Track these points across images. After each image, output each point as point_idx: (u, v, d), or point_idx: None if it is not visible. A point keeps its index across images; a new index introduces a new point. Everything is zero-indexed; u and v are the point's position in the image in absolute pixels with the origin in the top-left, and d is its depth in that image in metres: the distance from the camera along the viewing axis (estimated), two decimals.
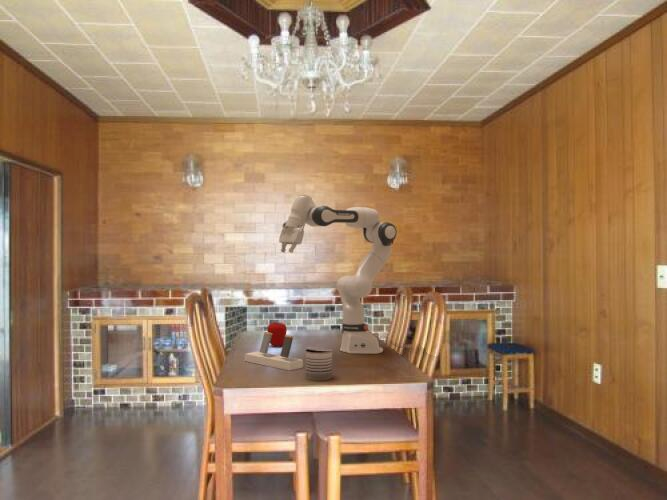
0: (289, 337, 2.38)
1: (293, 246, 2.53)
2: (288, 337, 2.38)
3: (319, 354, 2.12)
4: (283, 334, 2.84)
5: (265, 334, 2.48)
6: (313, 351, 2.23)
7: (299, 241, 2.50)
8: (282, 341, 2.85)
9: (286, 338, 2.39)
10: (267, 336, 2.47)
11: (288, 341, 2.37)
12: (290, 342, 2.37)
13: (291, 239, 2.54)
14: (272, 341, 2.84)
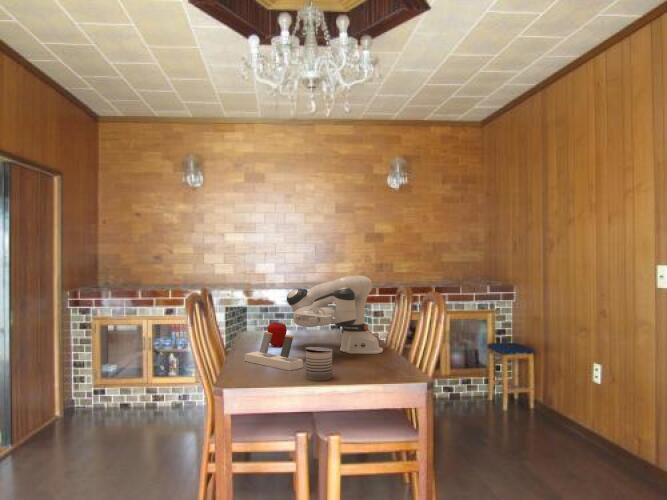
0: (289, 337, 2.38)
1: (315, 319, 2.45)
2: (288, 337, 2.38)
3: (319, 354, 2.12)
4: (283, 334, 2.84)
5: (265, 334, 2.48)
6: (313, 351, 2.23)
7: (326, 321, 2.44)
8: (282, 341, 2.85)
9: (286, 338, 2.39)
10: (267, 336, 2.47)
11: (288, 341, 2.37)
12: (290, 342, 2.37)
13: (318, 315, 2.48)
14: (272, 341, 2.84)
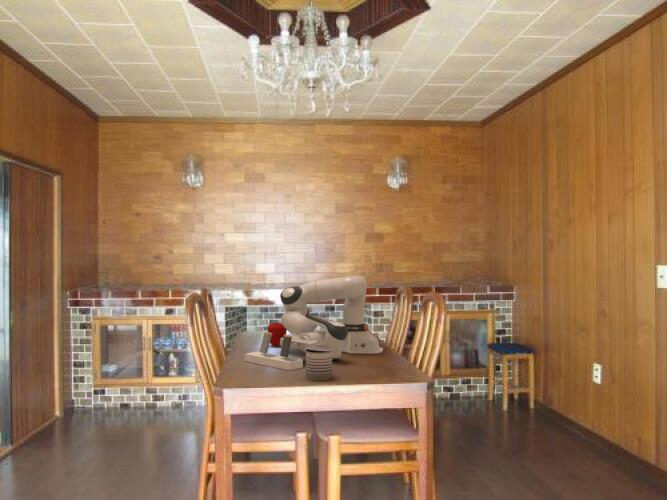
0: (288, 337, 2.37)
1: (295, 345, 2.40)
2: (287, 336, 2.38)
3: (319, 354, 2.12)
4: (283, 334, 2.84)
5: (265, 334, 2.48)
6: (313, 351, 2.23)
7: None
8: None
9: (285, 338, 2.38)
10: (267, 336, 2.47)
11: (287, 341, 2.37)
12: (289, 342, 2.37)
13: (304, 341, 2.40)
14: (272, 341, 2.84)
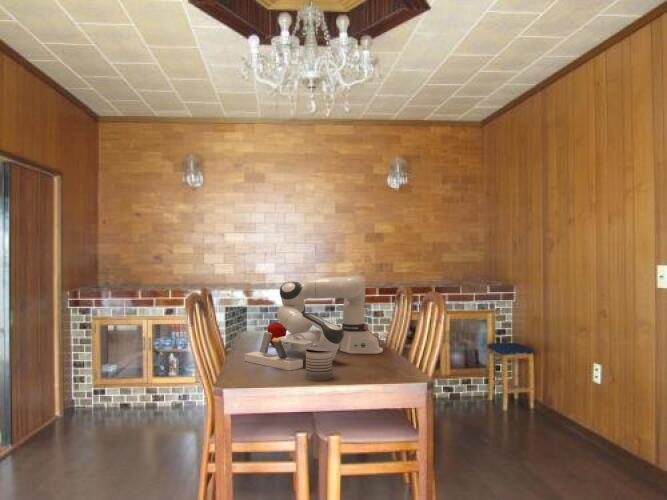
0: (277, 342, 2.32)
1: (289, 346, 2.37)
2: (275, 341, 2.32)
3: (319, 354, 2.12)
4: (283, 334, 2.84)
5: (265, 334, 2.48)
6: (313, 351, 2.23)
7: None
8: None
9: (274, 343, 2.33)
10: (267, 336, 2.47)
11: (278, 345, 2.33)
12: (280, 345, 2.33)
13: (298, 342, 2.37)
14: (272, 341, 2.84)
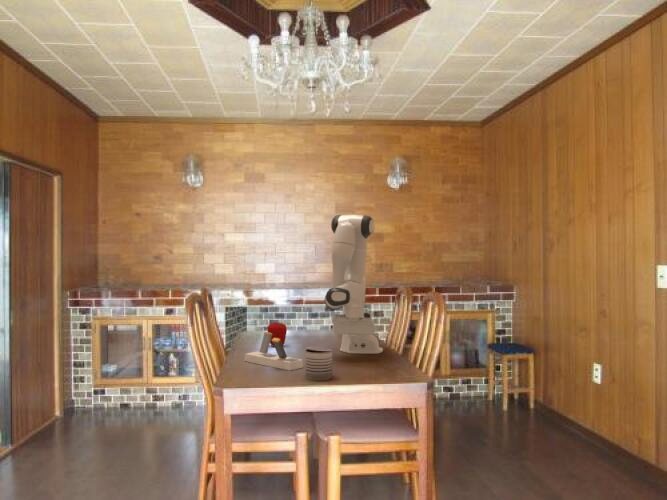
0: (277, 342, 2.32)
1: (348, 337, 2.49)
2: (275, 341, 2.32)
3: (319, 354, 2.12)
4: (283, 334, 2.84)
5: (265, 334, 2.48)
6: (313, 351, 2.23)
7: (332, 331, 2.48)
8: (282, 341, 2.85)
9: (274, 343, 2.33)
10: (267, 336, 2.47)
11: (278, 345, 2.33)
12: (280, 345, 2.33)
13: None
14: (272, 341, 2.84)
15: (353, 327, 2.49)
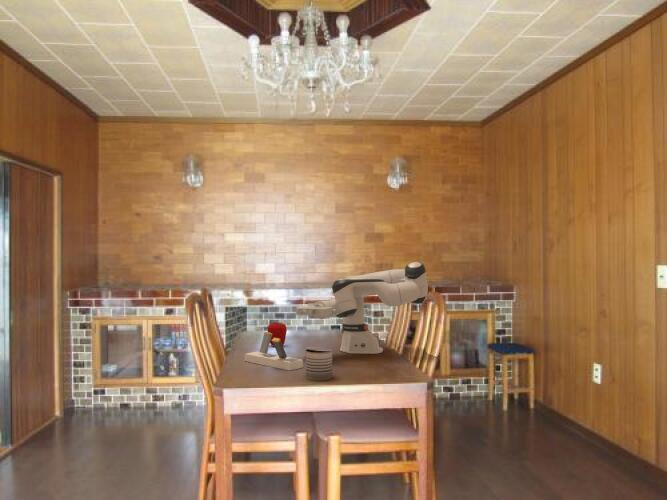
0: (277, 342, 2.32)
1: (310, 312, 2.47)
2: (275, 341, 2.32)
3: (319, 354, 2.12)
4: (283, 334, 2.84)
5: (265, 334, 2.48)
6: (313, 351, 2.23)
7: (326, 312, 2.44)
8: (282, 341, 2.85)
9: (274, 343, 2.33)
10: (267, 336, 2.47)
11: (278, 345, 2.33)
12: (280, 345, 2.33)
13: (318, 307, 2.48)
14: (272, 341, 2.84)
15: None
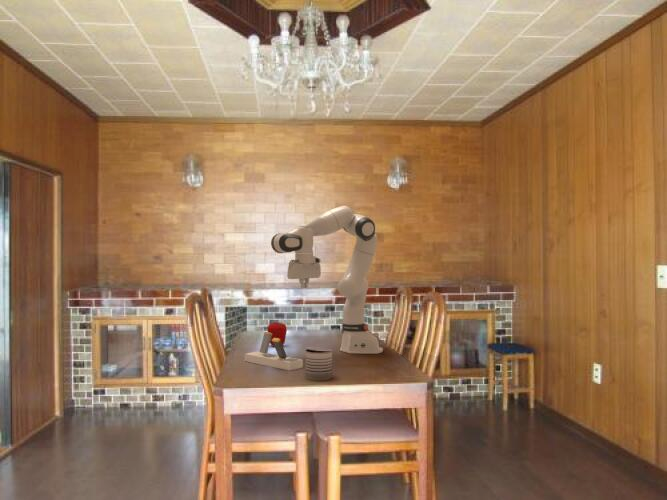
0: (277, 342, 2.32)
1: (300, 281, 2.54)
2: (275, 341, 2.32)
3: (319, 354, 2.12)
4: (283, 334, 2.84)
5: (265, 334, 2.48)
6: (313, 351, 2.23)
7: (290, 276, 2.48)
8: (282, 341, 2.85)
9: (274, 343, 2.33)
10: (267, 336, 2.47)
11: (278, 345, 2.33)
12: (280, 345, 2.33)
13: None
14: (272, 341, 2.84)
15: (306, 272, 2.54)
